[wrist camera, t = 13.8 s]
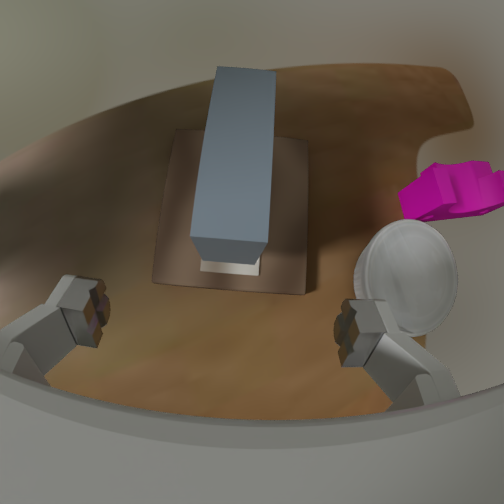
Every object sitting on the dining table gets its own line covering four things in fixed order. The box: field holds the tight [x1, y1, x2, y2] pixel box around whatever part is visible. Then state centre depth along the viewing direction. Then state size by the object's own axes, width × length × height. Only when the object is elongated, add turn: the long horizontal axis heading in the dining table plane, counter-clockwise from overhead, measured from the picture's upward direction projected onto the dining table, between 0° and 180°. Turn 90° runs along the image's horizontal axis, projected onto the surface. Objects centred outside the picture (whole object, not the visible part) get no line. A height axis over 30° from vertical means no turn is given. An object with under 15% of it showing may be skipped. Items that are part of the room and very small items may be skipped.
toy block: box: [398, 161, 504, 222], centre depth 29 cm, size 15×6×8 cm, turn 99°
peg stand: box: [152, 129, 308, 295], centre depth 27 cm, size 14×16×6 cm
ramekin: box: [354, 219, 458, 337], centre depth 27 cm, size 11×11×5 cm
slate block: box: [190, 67, 276, 265], centre depth 21 cm, size 4×12×8 cm, turn 176°
